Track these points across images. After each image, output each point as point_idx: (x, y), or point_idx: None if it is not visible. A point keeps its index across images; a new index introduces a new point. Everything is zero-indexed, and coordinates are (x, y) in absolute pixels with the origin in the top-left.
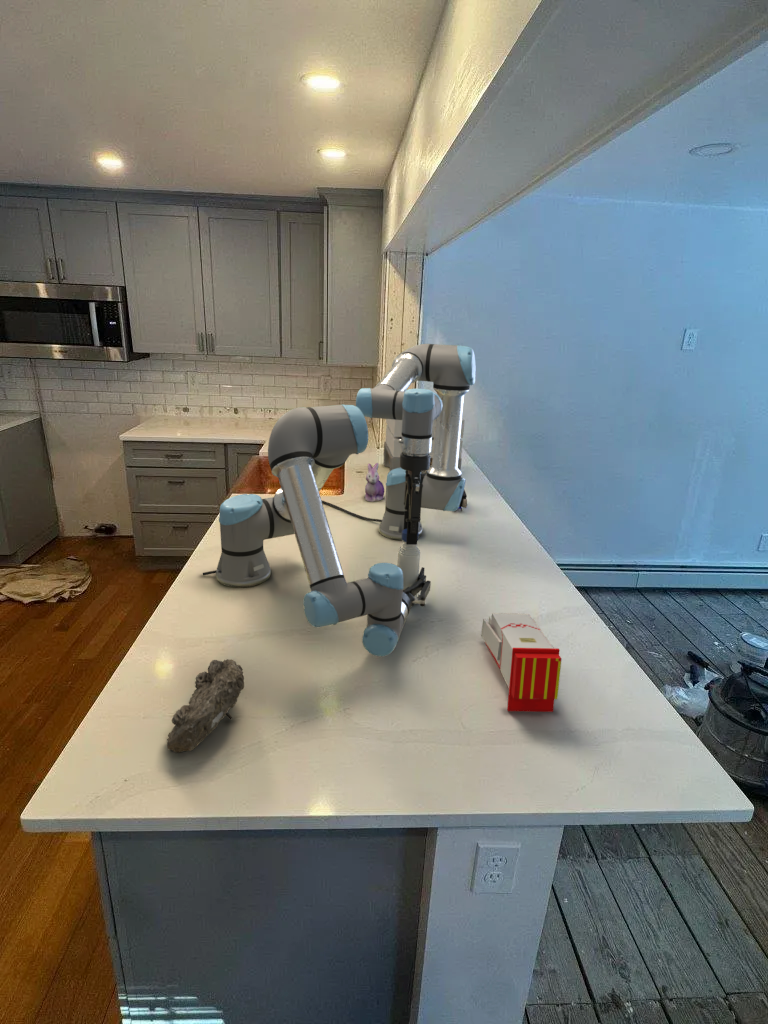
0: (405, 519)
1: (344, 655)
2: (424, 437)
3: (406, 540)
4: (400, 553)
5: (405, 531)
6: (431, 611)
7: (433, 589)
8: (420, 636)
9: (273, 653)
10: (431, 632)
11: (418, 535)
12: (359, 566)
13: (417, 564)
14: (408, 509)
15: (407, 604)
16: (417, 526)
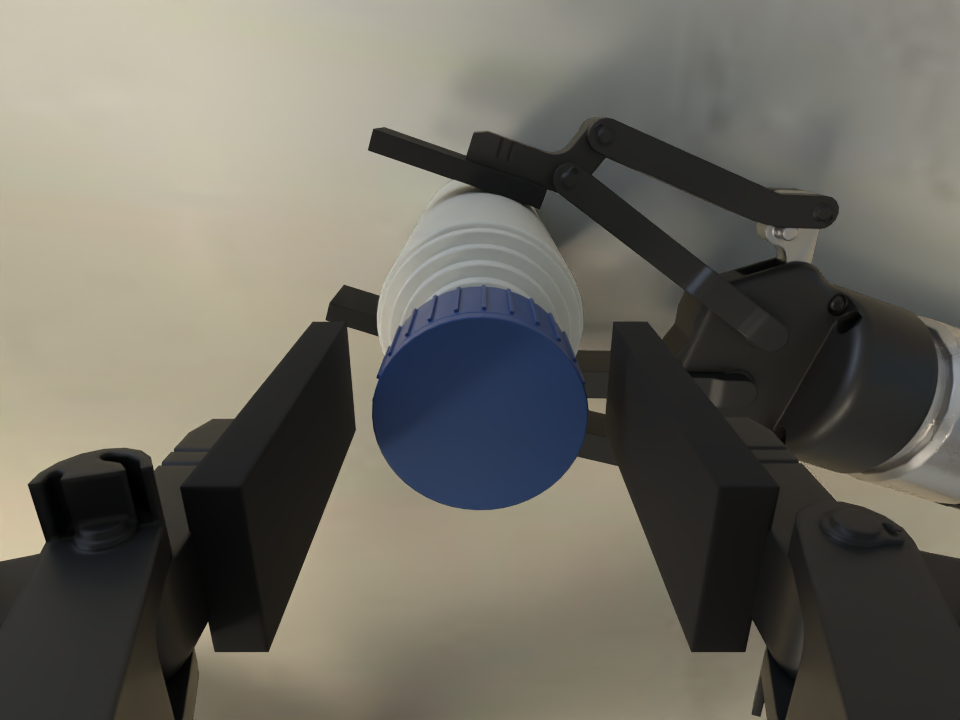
0: (307, 536)
1: (900, 520)
2: None
3: (613, 447)
4: None
5: (478, 476)
6: (609, 104)
7: (339, 41)
8: (843, 207)
9: None
10: (820, 143)
11: (511, 306)
12: (106, 439)
13: (547, 235)
14: (190, 616)
15: (930, 333)
16: (729, 440)
